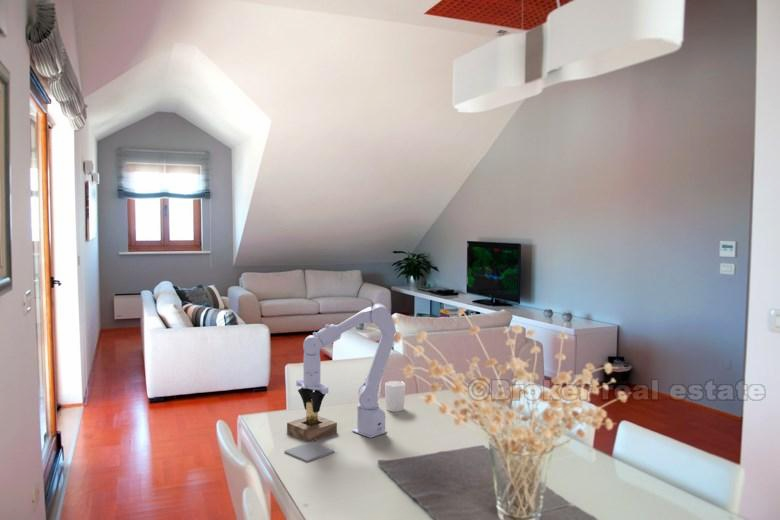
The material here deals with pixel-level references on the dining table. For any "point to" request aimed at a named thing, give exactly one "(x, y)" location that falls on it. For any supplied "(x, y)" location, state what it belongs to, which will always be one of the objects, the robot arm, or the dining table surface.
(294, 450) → the pad
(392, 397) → the white cup
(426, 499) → the dining table surface
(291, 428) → the block
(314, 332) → the robot arm
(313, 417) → the brass cylinder
